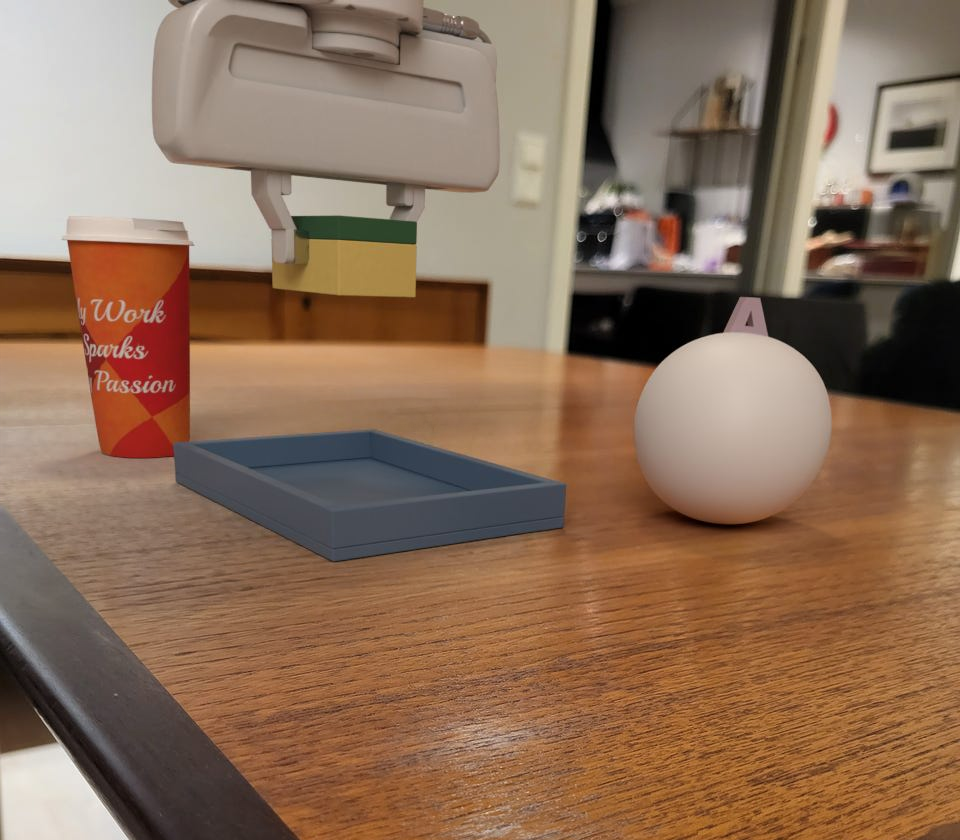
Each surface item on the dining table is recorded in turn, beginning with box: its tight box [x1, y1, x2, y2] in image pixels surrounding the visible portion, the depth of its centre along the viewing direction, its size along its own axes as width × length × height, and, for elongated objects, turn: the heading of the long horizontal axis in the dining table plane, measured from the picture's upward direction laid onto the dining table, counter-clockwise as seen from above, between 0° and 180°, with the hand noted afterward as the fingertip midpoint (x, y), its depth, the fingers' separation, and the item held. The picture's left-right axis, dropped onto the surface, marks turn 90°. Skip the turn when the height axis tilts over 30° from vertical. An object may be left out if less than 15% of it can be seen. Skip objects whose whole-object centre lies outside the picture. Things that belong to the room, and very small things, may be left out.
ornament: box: [633, 296, 833, 525], centre depth 55 cm, size 10×10×12 cm
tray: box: [173, 428, 567, 562], centre depth 57 cm, size 20×14×2 cm
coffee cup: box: [61, 215, 195, 459], centre depth 68 cm, size 8×8×15 cm
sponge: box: [270, 215, 418, 299], centre depth 58 cm, size 8×5×4 cm, turn 37°
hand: (340, 266), depth 58 cm, fingers closed on sponge, 5 cm apart
